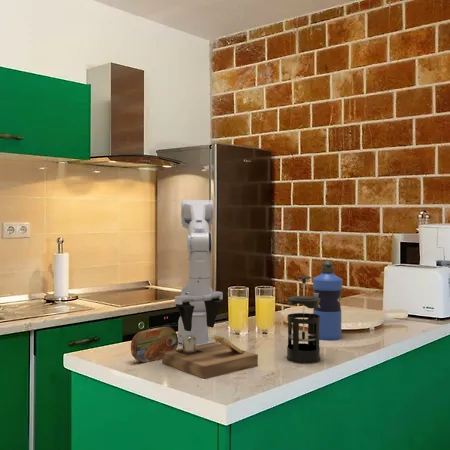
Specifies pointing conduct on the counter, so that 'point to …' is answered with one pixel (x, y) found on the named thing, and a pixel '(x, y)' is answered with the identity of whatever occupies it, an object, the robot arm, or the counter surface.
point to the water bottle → (328, 302)
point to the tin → (153, 343)
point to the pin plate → (210, 360)
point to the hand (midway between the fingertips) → (199, 328)
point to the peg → (189, 345)
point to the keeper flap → (228, 344)
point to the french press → (301, 350)
